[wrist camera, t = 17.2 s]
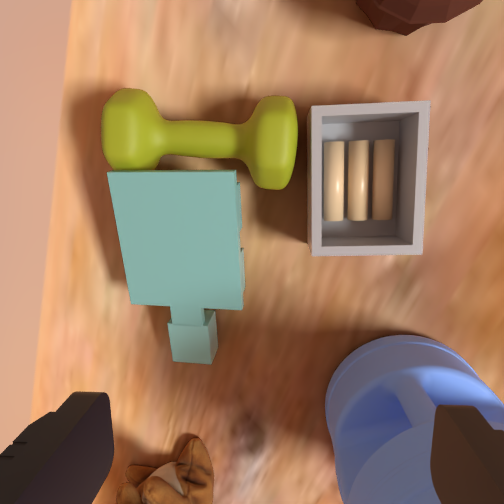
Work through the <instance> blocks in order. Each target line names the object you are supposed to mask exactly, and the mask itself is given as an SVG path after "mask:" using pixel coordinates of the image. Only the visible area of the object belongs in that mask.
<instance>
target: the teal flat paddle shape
mask: <svg viewBox="0 0 504 504" xmlns="http://www.w3.org/2000/svg"><path fill="white" fill-rule="evenodd" d="M107 177H108V182H109V188H110V193H111V198H112V204H113V209H114V214H115V220H116V225H117V231H118V236H119V241H120V247H121V252H122V257H123V263H124V268H125V274H126V279H127V284H128V290H129V295H130V301H131V304H139V305H157V306H170V310H171V319H170V320H169V322H168V323H167V324H168V331H169V337H170V344H171V351H172V358H173V361H174V362H186V363H199V364H211V365H212V362H213V360H214V357H215V355H216V352H217V350H218V337H217V325H216V314H215V310H204V308H210V309H228V310H242V309H243V306H244V303H243V292H244V289H245V271H244V252H243V248H240V230H241V228H242V214H241V195H240V182H237V178H236V170H111V171H109V172H107Z"/></svg>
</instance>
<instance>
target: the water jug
mask: <svg viewBox="0 0 504 504" xmlns="http://www.w3.org/2000/svg"><path fill="white" fill-rule="evenodd" d="M438 405H468V406H474V407H476V408H477V409H478V410H479V412H480V413H481V414H482V415H483V417H484V418H485V419H486V420H487V422H488V423H489V424H490V425H491V427H492V428H493V429H494V430H503V431H504V404H503V403H502V402H501V401H500V399H499V398H498V397H497V396H496V395H495V394H494V392H493V391H492V390H491V389H490V388H489V387H488V386H487V385H486V384H485V383H484V382H483V381H482V380H481V379H480V378H479V377H478V375H477V374H476V372H475V371H474V370H473V369H472V367H471V366H470V365H469V364H468V363H467V362H466V361H465V360H464V359H463V358H462V357H461V356H460V355H459V354H457V353H456V352H455V351H453V350H452V349H451V348H449V347H447V346H446V345H444V344H442V343H440V342H437V341H435V340H432V339H429V338H425V337H421V336H415V335H393V336H387V337H382V338H379V339H376V340H373V341H371V342H368V343H366V344H364V345H362V346H361V347H359V348H357V349H356V350H354V351H353V352H352V353H351V354H349V355H348V356H347V357H346V358H345V359H344V360H343V361H342V362H341V364H340V365H339V366H338V368H337V369H336V371H335V372H334V374H333V376H332V378H331V380H330V382H329V385H328V388H327V393H326V399H325V414H326V421H327V426H328V430H329V433H330V436H331V438H332V443H333V449H334V454H335V468H336V475H337V481H338V486H339V490H340V494H341V497H342V501H343V503H344V504H441V502H440V500H439V498H438V496H437V494H436V491H435V489H434V486H433V482H432V477H431V470H430V457H431V448H432V438H433V428H434V418H435V411H436V408H437V406H438Z"/></svg>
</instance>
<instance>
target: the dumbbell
mask: <svg viewBox="0 0 504 504" xmlns="http://www.w3.org/2000/svg"><path fill="white" fill-rule="evenodd" d="M297 141H298V121H297V113H296V108H295V105H294V103H293V101H292V100H291V99H290V98H289V97H286V96H267V97H264V98H263V99H262V100H260V102H259V103H258V104H257V106H256V108H255V110H254V112H253V114H252V116H251V117H250V119H249V120H248V121H247V122H245V123H242V124H231V123H225V122H214V121H199V120H178V121H169V120H166V119H164V118H163V117H162V116H161V115H160V114H159V111H158V109H157V107H156V105H155V103H154V101H153V100H152V98H151V97H150V96H149V94H148V93H147V92H145V91H143V90H140V89H131V88H124V89H121V90H119V91H117V92H116V93H115V94H113V95H112V96H111V98H110V99H109V100H108V101H107V102H106V104H105V105H104V107H103V111H102V117H101V143H102V150H103V154H104V156H105V158H106V160H107V162H108V163H109V165H110V166H111V167H112V169H113V170H155V169H156V167H157V165H158V163H159V161H160V158H161V156H163V155H166V154H174V155H180V156H188V157H198V158H237V159H240V160H242V161H243V162H244V163H245V164H246V165H247V167H248V169H249V171H250V174H251V176H252V179H253V181H254V183H255V184H256V185H257V186H259V187H261V188H264V189H274V190H280V189H283V188H285V187H286V186H287V184H288V183H289V181H290V179H291V176H292V172H293V168H294V164H295V159H296V151H297Z"/></svg>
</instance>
